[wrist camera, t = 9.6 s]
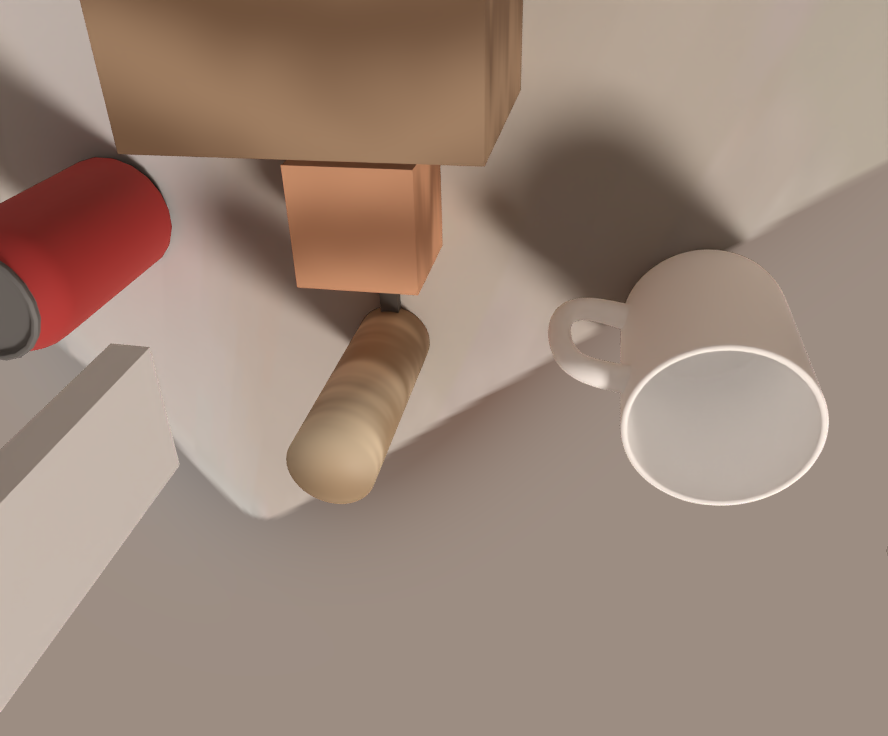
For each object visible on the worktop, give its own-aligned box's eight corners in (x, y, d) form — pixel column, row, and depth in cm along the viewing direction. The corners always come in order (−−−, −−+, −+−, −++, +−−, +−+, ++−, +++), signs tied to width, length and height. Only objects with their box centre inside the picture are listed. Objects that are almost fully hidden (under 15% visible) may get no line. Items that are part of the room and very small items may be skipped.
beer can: (104, 128, 42) (-58, 206, 32) (198, 217, 44) (73, 317, 34) (48, 204, 45) (-114, 297, 35) (138, 285, 47) (8, 394, 37)
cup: (746, 400, 43) (776, 527, 35) (536, 342, 44) (515, 453, 36) (814, 269, 39) (868, 378, 30) (579, 206, 39) (567, 296, 31)
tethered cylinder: (323, 128, 40) (223, 213, 30) (439, 132, 39) (376, 221, 29) (348, 365, 47) (274, 496, 37) (445, 373, 46) (397, 510, 36)
